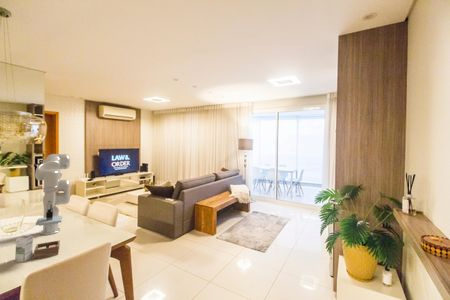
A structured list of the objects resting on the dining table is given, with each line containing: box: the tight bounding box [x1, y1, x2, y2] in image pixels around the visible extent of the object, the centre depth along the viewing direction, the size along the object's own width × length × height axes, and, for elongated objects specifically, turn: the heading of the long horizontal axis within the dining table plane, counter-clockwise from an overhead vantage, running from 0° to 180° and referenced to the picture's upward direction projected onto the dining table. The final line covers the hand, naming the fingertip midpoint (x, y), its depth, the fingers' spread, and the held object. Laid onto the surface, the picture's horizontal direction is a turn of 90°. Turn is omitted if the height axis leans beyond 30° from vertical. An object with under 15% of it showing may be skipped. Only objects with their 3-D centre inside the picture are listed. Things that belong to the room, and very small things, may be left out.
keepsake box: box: [33, 240, 61, 260], centre depth 139 cm, size 10×12×6 cm
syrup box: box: [14, 235, 34, 263], centre depth 131 cm, size 6×6×14 cm
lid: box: [35, 207, 63, 227], centre depth 139 cm, size 11×13×10 cm
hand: (49, 216), depth 139 cm, fingers closed on lid, 3 cm apart
